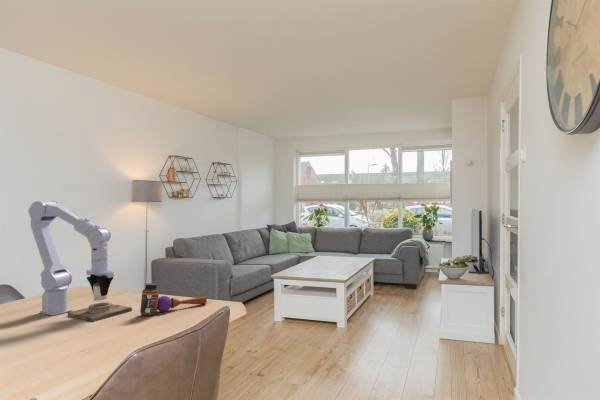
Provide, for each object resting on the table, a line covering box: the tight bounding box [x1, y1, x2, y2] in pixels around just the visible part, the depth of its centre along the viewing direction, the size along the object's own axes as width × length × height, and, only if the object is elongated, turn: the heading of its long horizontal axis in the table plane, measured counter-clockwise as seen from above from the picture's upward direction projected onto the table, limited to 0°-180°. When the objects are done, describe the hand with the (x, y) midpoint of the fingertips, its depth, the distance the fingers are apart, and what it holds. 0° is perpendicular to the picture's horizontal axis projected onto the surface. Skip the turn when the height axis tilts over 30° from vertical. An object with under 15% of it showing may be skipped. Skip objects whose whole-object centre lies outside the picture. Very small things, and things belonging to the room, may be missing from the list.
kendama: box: [157, 295, 208, 313], centre depth 158 cm, size 6×6×20 cm
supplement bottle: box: [140, 282, 160, 316], centre depth 150 cm, size 6×6×11 cm
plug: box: [93, 283, 108, 302], centre depth 153 cm, size 4×4×6 cm
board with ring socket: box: [67, 301, 133, 322], centre depth 153 cm, size 16×16×3 cm
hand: (100, 294), depth 153 cm, fingers closed on plug, 4 cm apart
